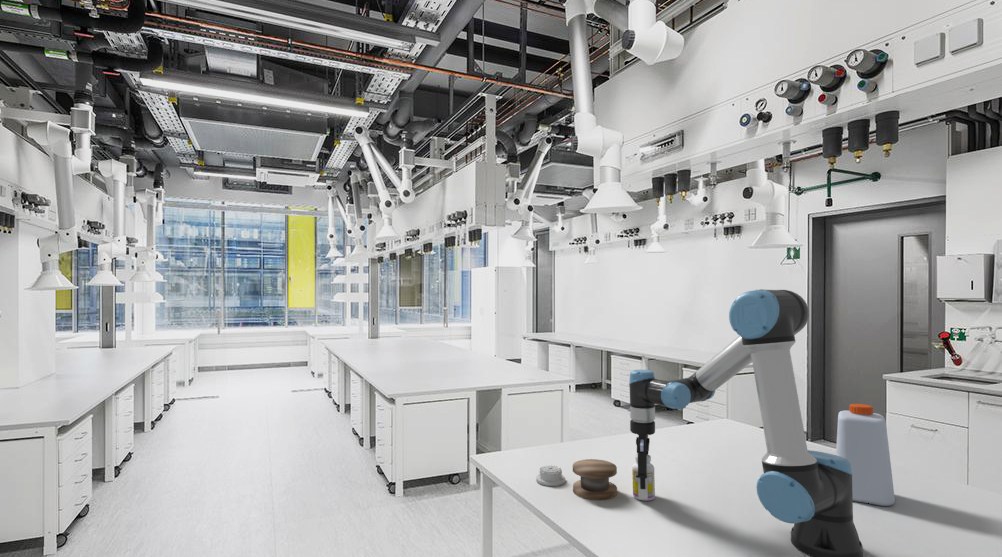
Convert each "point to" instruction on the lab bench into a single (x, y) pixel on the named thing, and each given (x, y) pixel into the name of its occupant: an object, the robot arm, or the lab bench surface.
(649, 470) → the supplement bottle
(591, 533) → the lab bench surface
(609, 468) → the bobbin
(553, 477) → the mechanical component
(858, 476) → the plastic bottle
